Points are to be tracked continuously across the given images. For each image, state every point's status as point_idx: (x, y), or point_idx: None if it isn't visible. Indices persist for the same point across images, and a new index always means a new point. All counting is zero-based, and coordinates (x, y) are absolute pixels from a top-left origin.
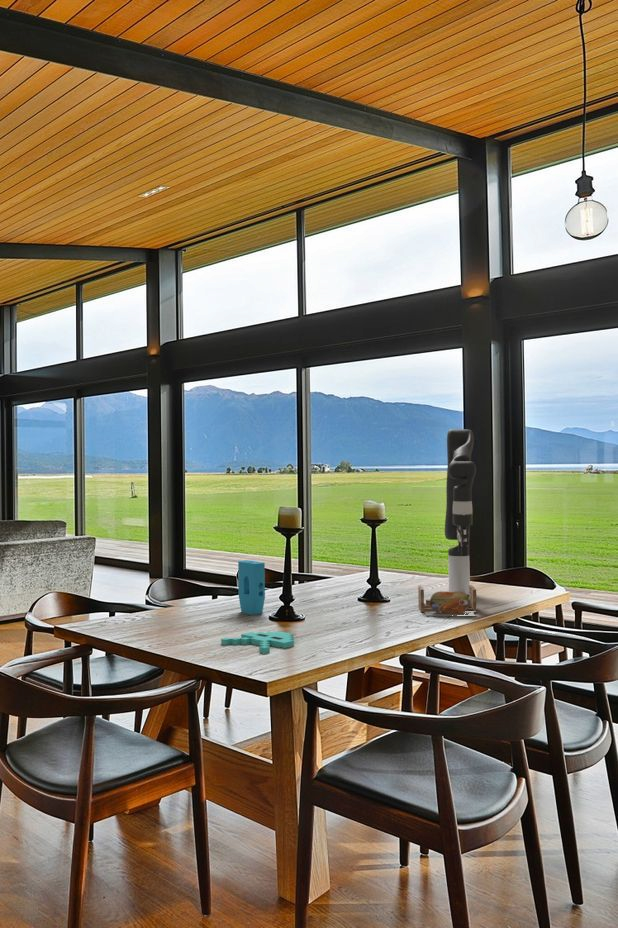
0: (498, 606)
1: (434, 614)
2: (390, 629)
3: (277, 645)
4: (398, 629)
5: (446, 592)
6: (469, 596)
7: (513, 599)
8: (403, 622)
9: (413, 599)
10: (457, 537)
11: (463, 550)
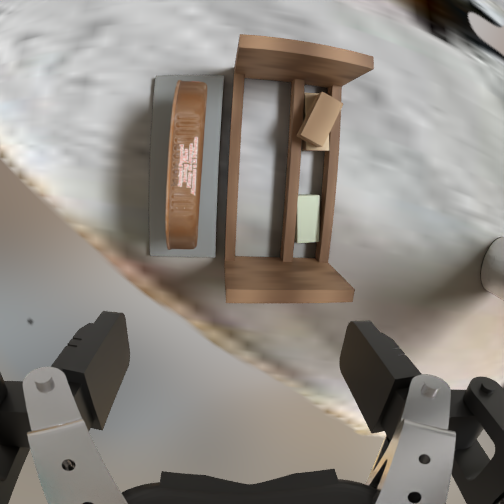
0: (326, 347)
1: (164, 105)
2: (16, 8)
3: None
4: (11, 25)
5: (174, 149)
6: (323, 272)
7: None
8: (81, 18)
9: (460, 111)
10: (398, 442)
11: (68, 355)
